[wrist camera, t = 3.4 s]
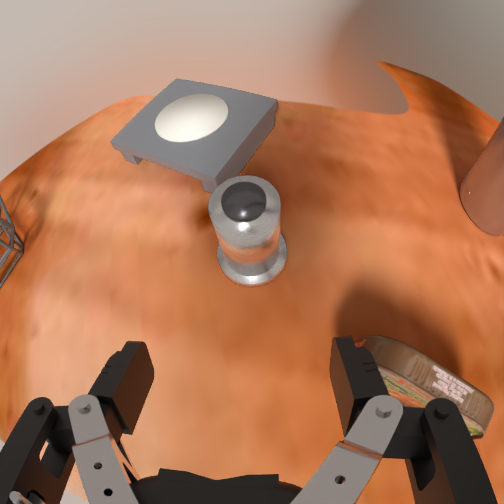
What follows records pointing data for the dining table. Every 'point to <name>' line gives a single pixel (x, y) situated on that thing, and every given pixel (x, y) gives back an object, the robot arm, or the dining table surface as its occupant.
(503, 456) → the dining table surface
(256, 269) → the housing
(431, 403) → the robot arm
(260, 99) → the stand
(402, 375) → the tin
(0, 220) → the geometric lantern
